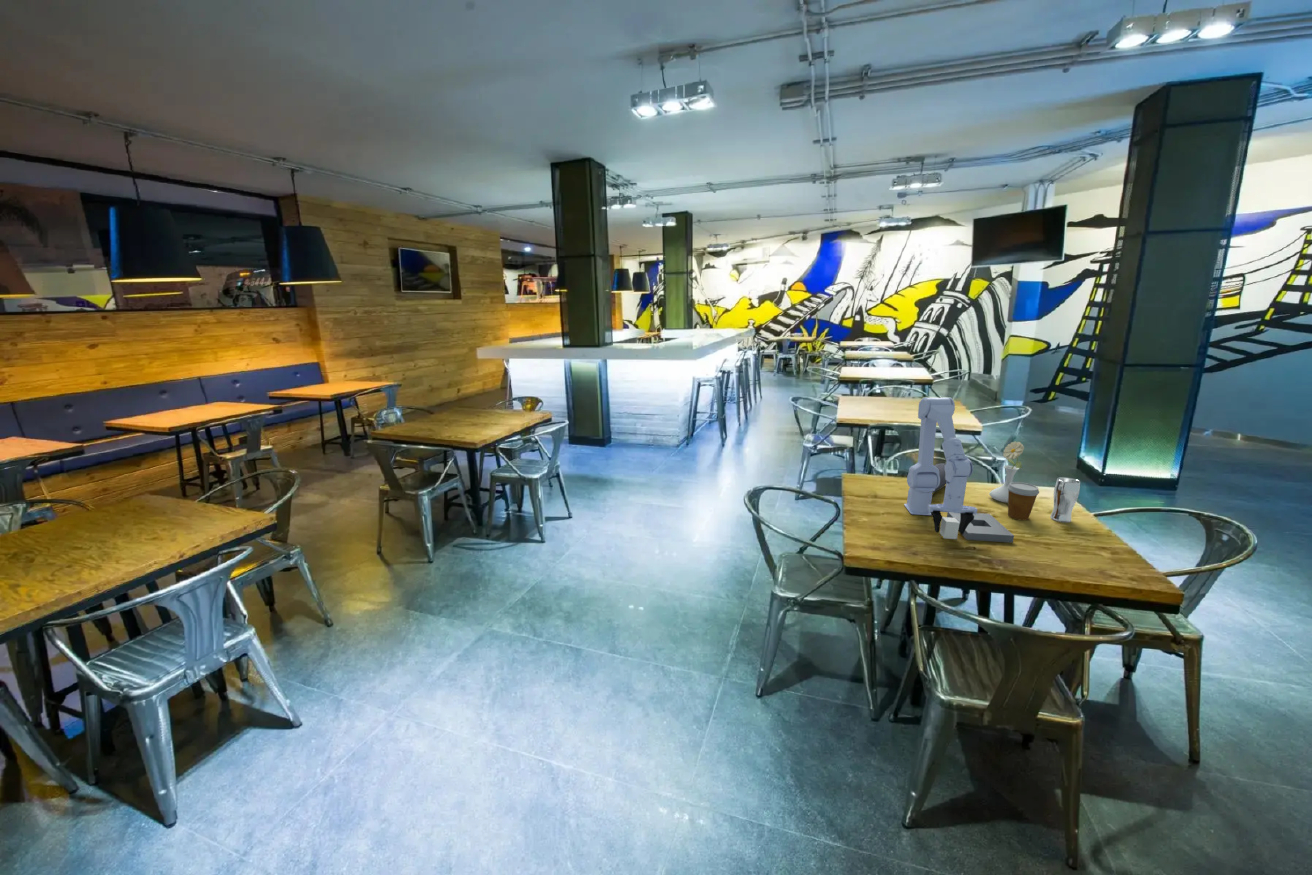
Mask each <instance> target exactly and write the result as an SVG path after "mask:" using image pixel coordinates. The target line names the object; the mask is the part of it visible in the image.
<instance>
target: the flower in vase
mask: <svg viewBox="0 0 1312 875" xmlns="http://www.w3.org/2000/svg"><path fill="white" fill-rule="evenodd" d="M1024 449H1025V446H1024V444H1023V443H1022V442H1020V441H1016V440H1015V441H1012V442H1010V443H1009V444H1007V445H1006V446H1005V448H1004V450H1003V455H1002V456H1003V458H1005V459H1006V461H1008V462H1009V463H1010V464H1011V465H1007V464H1006V465H1003V468H1004V469H1005V476H1006V477H1005V482H1004V483H1003V484H1002V485H1001V486H999V487H996V488H994V489H992V490H991V491H990V492H989V496H990V497H991V498H992V499H994V500H996V501H999V502H1002V503H1006V504H1008V493H1009V490H1008V486H1009V484H1010V483H1012V482H1014V481H1013V480H1014V476H1015V474H1016V473H1017V471H1019V470H1020V469H1023V467H1022V462H1021V461H1019V458H1018V457H1020V456H1021V455H1022V454H1023V452H1024ZM1015 459H1016V461H1015V462H1014V461H1013V460H1015Z"/></svg>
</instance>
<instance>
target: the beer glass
mask: <svg viewBox="0 0 1312 875" xmlns="http://www.w3.org/2000/svg"><path fill="white" fill-rule="evenodd" d="M1055 482H1056V483H1055V486H1054V490H1053V509H1052V512H1051V514H1050V519H1051V520H1053V521H1055V522H1059V523H1065V524H1066V523H1071V522H1072V512H1073V508H1074V507H1075V505H1076V503H1077V501H1078V497H1079V495H1080V488H1081V481H1080V480H1079V479H1076V478H1073V477H1065V476H1062V477H1061V476H1059V477H1057V479H1056V481H1055Z"/></svg>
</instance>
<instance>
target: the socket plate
mask: <svg viewBox="0 0 1312 875" xmlns="http://www.w3.org/2000/svg"><path fill="white" fill-rule="evenodd" d="M946 513H947V514H946V517H951V518H956V519H957V521H958V522H959V526H960V513H953V512H946ZM973 516H974V519H973V520H972V521H971V522H970V523H969V525H968V526H967V528H966V529H965V531H964V534H961V535H962V536H963V537H964V539H965V540H967V541H983V542H999V543H1010V544H1011V543H1014V539H1015V535H1014V534H1013V533H1012V532H1011V531H1010V530H1008V529H1007V528H1006V527H1005V526H1004V525H1003V524H1002V523H1000V522H999V520H997V519H996V518H995V517H994V516H993V515H992V514H990V513H981V512H977V515H975V514H973ZM958 530H959V529H958Z"/></svg>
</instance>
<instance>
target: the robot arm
mask: <svg viewBox="0 0 1312 875" xmlns="http://www.w3.org/2000/svg"><path fill="white" fill-rule="evenodd" d="M955 406H956V405H955V401H954V399H953V398H952V397H950V396H949V397H948V396H947V397H928V396H927V397H922V398H921V400H920V401H919V402H918V410H917V412H918V413H917V415H918V416H917V418H918V419H919V420H920V430H919V440H918V441H919V442H918V444H919V445H918V457H917V462H916V463H915V464H914V465H911V466H910V467H909V469H908V474H907V476H906V484H907V485H908V487H909V489H908V492H907V497H906V498H907V500H906V503H904V504H903V505H904V507H905V508H906V509H907V511H908V512H909V513H910V514H911V515H917V516H919V515H922V516H931V517H932V520H933V528H934V532H935V533H937V534H938V533H939V534H940V528H941V521H942V517H944V516H943V515H942V513H948V512H953V513H960V526H959V531H958V533H959V534H960V535H962V534H964V531H965V529H966V528H967V526H968V525H969V523H970V522H971V521H972V520H973V519H974V516H973V514H975V515H977V513H978V508H976V507H975V506H969V505H968V506H967V505H964V502H965V496H966V494H965V493H966V488H967V482H968V478H969V477H972V475H973V472H974V468H973V467H974V466H973V463H972V461H971V459H970V458H969V457H968V456H967V455H966V454H965V450H964V448H963V444H962V440H961V439H959V438H957V436H956V431H955V426H954V421H953V415H954V413H955V410H956V407H955ZM937 426H938V428H939V429H940V432H941V435H942V439H943V442H941V447H942V450H943V454H944V457H945V461H946V462H945V464H946V465H945V480H947V481H946V485H945V490H944V496H943V503H935V504H932V499H933V494H934V493H933V491H935V489H936V488H938V486H939V484H940V477H939V470H938V468H936V467H935V466H934V465H935V464H934V456H935V444H936V435H937V434H936V433H937ZM932 493H933V494H932Z"/></svg>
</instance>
